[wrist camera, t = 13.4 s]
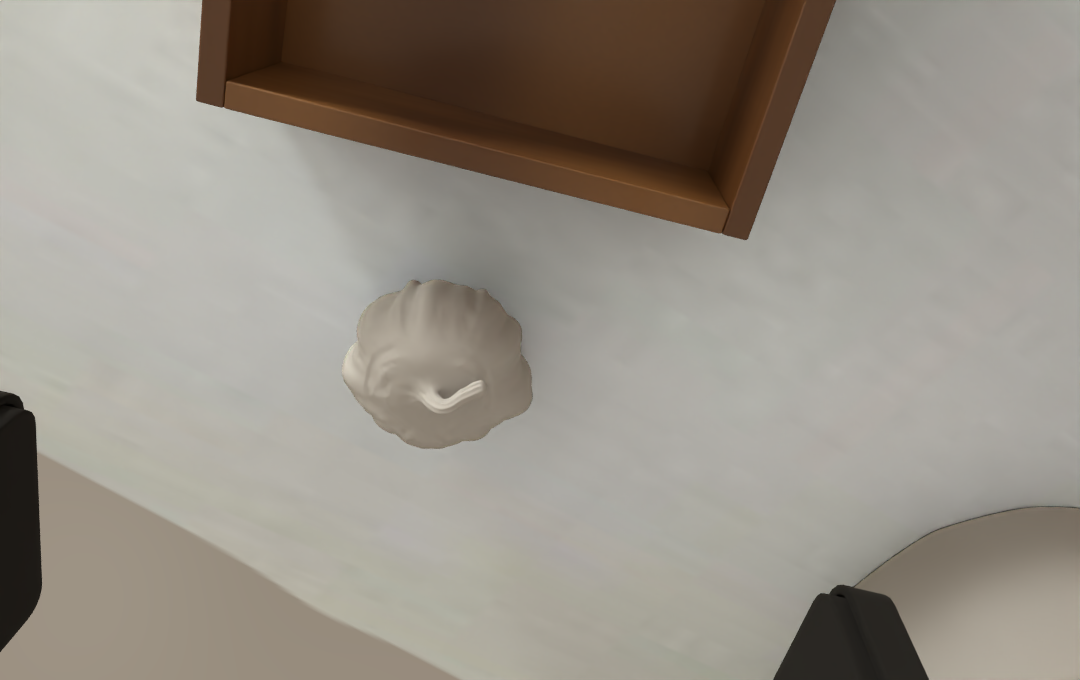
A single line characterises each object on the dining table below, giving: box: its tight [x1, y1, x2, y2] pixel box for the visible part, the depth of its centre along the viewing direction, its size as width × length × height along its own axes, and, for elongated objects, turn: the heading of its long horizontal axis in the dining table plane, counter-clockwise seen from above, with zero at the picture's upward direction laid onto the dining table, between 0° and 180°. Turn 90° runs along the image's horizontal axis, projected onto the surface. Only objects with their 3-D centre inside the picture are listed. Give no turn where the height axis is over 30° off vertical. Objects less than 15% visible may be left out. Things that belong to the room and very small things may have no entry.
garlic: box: [342, 280, 533, 449], centre depth 25 cm, size 6×5×5 cm
